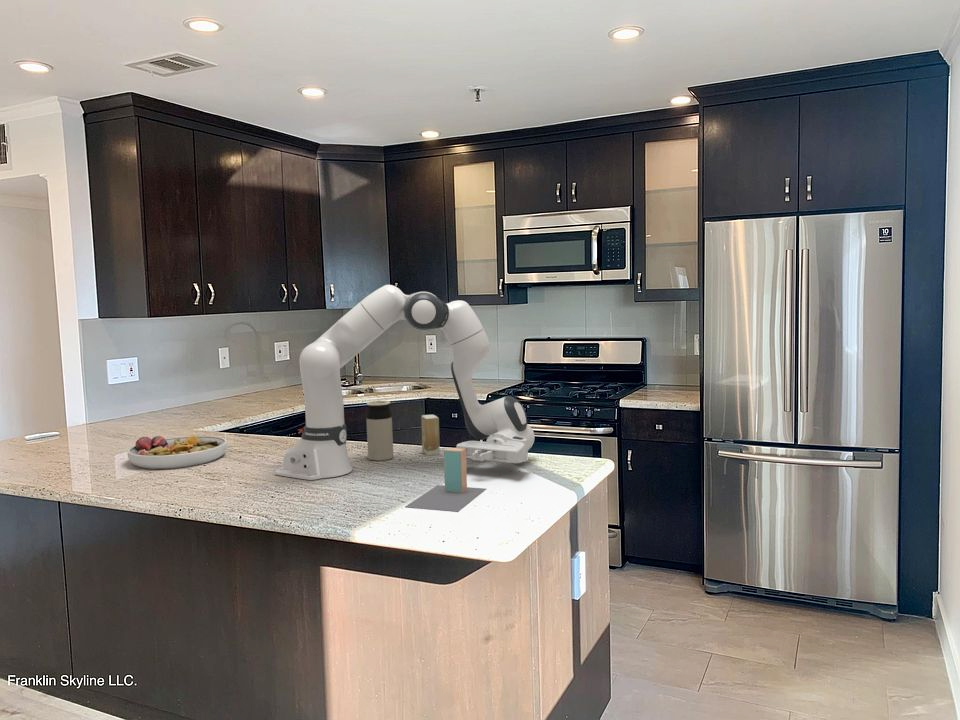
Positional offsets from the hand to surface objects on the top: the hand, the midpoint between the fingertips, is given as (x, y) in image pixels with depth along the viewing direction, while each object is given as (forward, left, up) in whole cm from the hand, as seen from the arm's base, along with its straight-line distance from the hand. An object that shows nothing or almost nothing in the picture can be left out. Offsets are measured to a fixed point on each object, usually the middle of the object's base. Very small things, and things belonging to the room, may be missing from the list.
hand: (476, 457), depth 194 cm
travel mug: (-40, +19, -7) cm, 45 cm away
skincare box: (-27, +29, -7) cm, 40 cm away
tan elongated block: (-2, -11, -6) cm, 13 cm away
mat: (-2, -17, -7) cm, 18 cm away
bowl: (-105, +2, -7) cm, 105 cm away
